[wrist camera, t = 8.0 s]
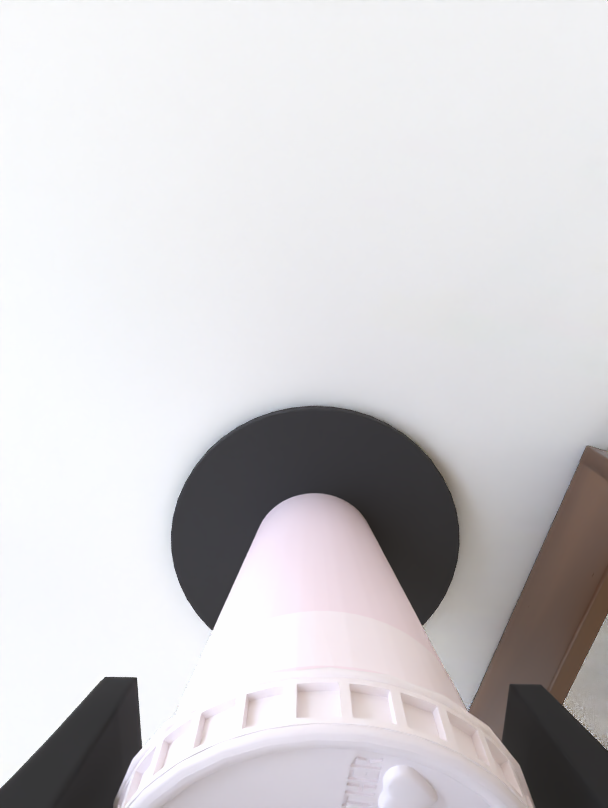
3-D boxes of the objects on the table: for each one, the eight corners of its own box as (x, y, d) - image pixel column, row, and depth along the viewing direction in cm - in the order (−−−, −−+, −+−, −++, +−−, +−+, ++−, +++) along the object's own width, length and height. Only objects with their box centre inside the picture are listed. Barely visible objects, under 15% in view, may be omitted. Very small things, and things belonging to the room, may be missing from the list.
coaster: (515, 513, 17) (520, 519, 16) (342, 704, 18) (343, 713, 18) (281, 345, 15) (281, 347, 15) (120, 569, 17) (116, 576, 17)
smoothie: (434, 613, 17) (936, 1961, 3) (242, 654, 17) (24, 2005, 4) (394, 428, 15) (1024, 1570, 2) (185, 478, 16) (-518, 1710, 2)
